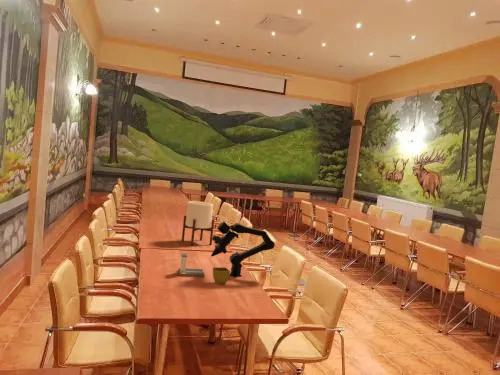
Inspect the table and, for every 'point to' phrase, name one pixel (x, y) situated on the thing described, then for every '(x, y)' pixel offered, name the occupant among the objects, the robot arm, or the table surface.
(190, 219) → the plant pot with stand
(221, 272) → the flower pot
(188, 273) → the grey railed base plate
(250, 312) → the table surface
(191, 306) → the table surface
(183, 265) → the fader knob
